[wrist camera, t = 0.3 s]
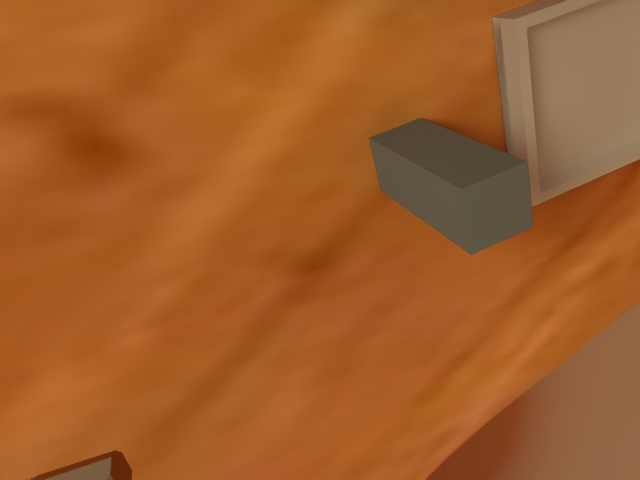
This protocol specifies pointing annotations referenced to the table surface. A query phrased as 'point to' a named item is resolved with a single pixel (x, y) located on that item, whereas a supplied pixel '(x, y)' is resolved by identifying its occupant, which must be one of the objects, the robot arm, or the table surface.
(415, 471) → the table surface
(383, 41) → the table surface
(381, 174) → the slate block
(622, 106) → the bin
